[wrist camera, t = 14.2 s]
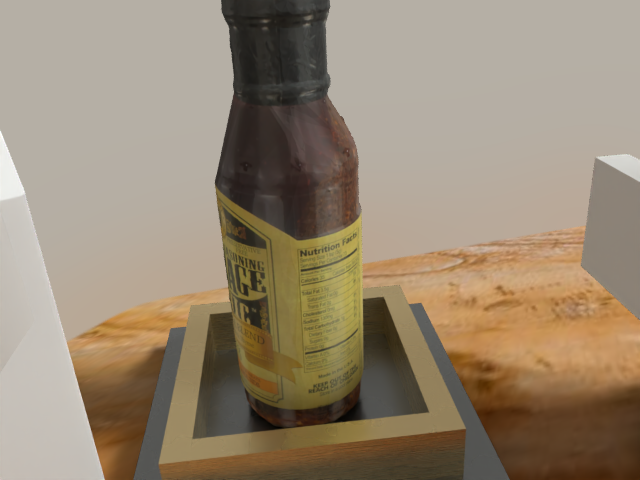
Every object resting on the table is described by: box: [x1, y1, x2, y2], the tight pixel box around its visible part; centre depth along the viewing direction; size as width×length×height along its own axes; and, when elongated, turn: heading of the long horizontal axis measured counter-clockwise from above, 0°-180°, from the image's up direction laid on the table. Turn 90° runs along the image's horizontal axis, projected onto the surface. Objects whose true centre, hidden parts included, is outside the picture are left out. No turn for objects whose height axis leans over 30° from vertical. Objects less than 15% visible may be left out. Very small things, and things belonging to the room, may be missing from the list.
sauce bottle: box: [215, 0, 364, 428], centre depth 26 cm, size 7×6×20 cm
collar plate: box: [133, 285, 510, 480], centre depth 30 cm, size 16×16×4 cm
